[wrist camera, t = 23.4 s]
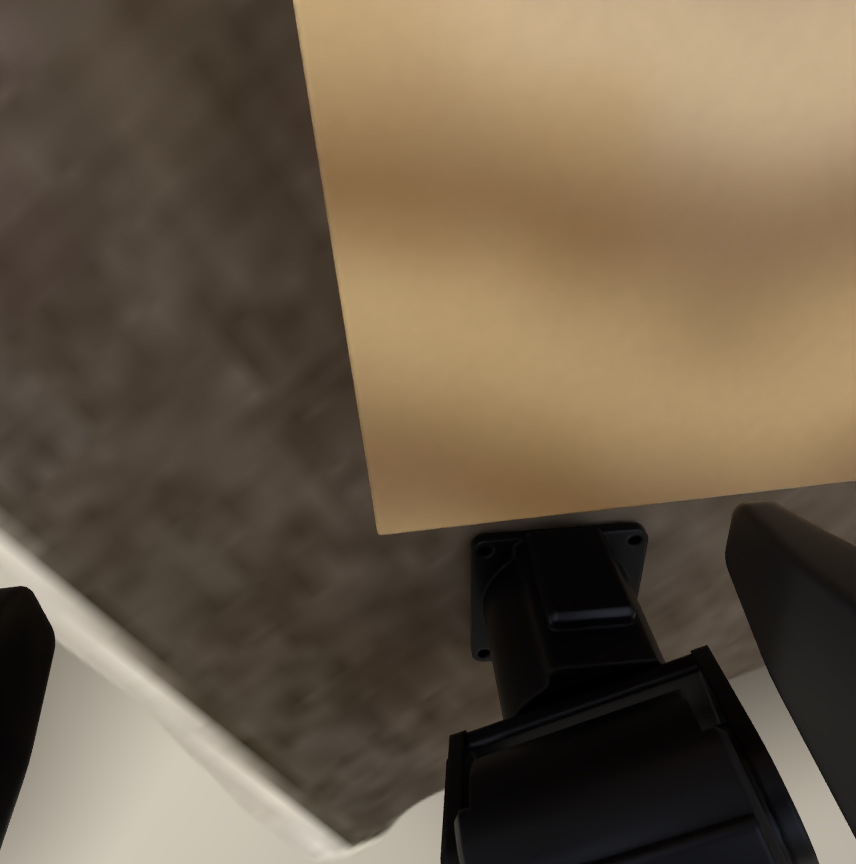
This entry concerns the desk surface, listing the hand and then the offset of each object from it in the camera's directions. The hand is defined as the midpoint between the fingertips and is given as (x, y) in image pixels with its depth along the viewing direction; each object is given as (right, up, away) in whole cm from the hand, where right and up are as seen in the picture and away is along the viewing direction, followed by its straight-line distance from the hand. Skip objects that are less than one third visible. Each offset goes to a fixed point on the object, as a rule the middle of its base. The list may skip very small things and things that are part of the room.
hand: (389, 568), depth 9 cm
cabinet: (+4, +10, +10) cm, 14 cm away
